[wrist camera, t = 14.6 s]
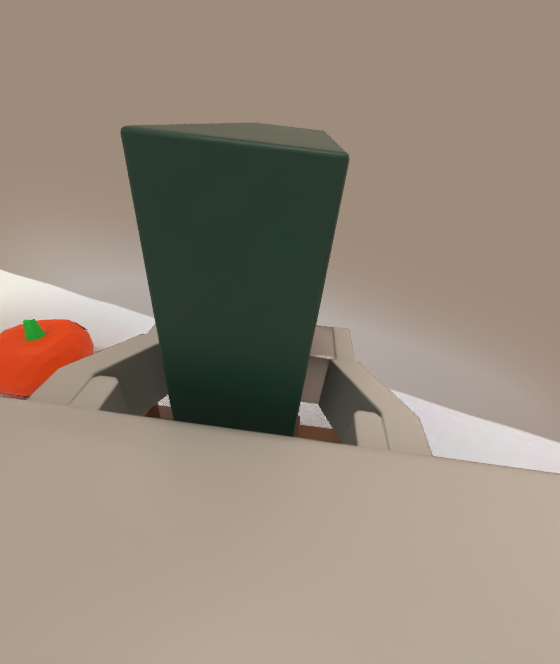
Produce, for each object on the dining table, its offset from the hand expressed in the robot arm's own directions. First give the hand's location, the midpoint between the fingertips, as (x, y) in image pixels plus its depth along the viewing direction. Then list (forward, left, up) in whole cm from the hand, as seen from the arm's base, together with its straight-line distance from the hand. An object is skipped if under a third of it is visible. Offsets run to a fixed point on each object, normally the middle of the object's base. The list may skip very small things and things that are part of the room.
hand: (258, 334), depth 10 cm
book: (0, +1, -8) cm, 9 cm away
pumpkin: (-20, +10, -15) cm, 27 cm away
